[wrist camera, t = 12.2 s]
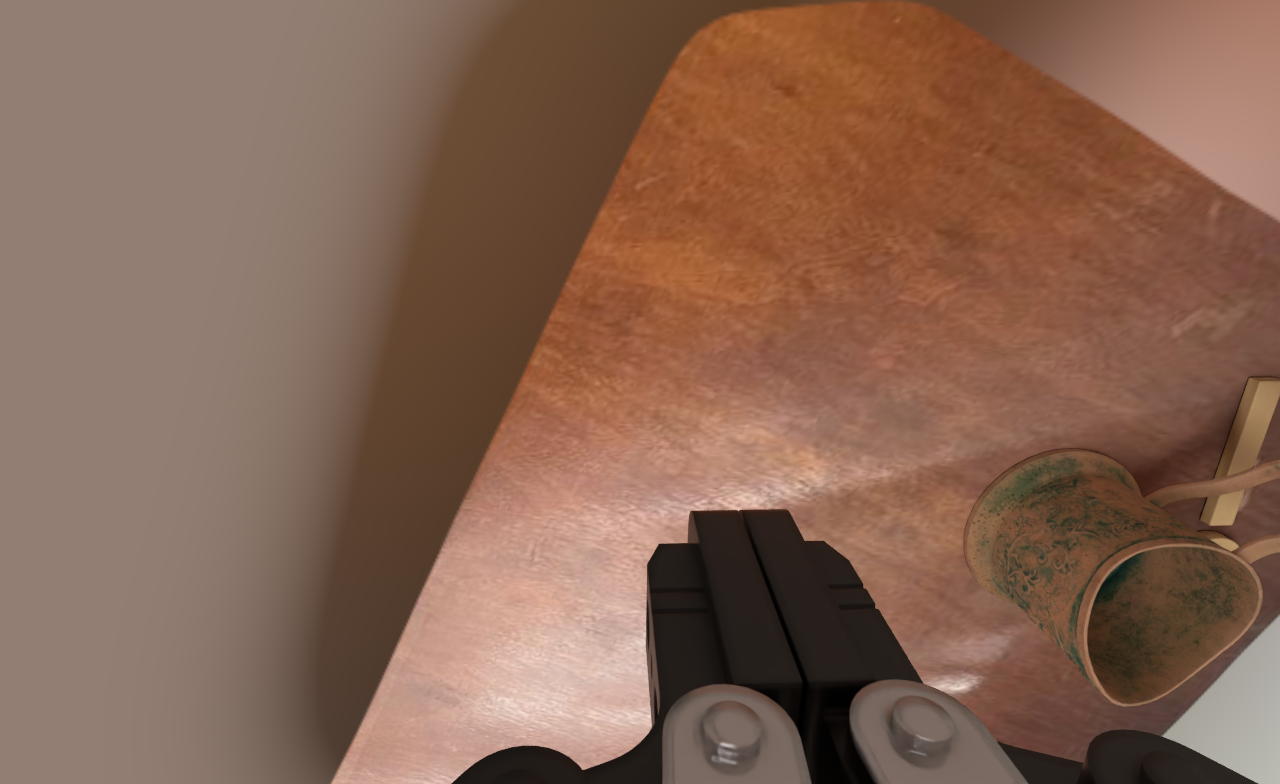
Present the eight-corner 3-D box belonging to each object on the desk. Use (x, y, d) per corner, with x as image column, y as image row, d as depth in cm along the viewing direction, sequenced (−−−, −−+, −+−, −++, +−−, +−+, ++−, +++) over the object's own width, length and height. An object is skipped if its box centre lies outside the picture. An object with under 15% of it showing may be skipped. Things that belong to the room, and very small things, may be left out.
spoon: (1226, 377, 39) (1241, 382, 38) (1294, 376, 39) (1311, 382, 38) (1156, 586, 44) (1168, 595, 43) (1217, 584, 44) (1230, 594, 44)
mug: (1251, 471, 42) (1491, 586, 30) (1021, 630, 45) (1160, 786, 34) (1170, 347, 38) (1404, 423, 27) (929, 528, 42) (1048, 662, 31)
